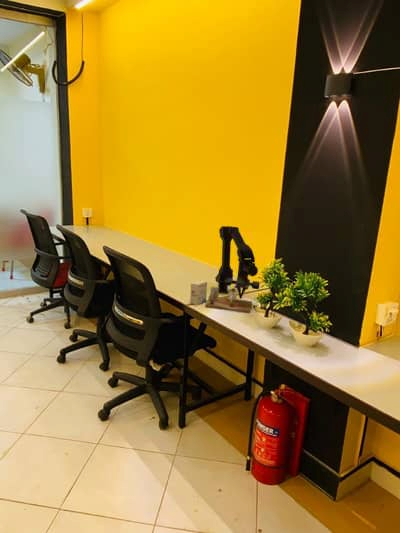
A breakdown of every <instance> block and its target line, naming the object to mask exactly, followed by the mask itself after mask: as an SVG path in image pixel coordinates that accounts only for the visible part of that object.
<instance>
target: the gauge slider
mask: <svg viewBox="0 0 400 533" xmlns="http://www.w3.org/2000/svg"><path fill="white" fill-rule="evenodd" d="M228 298H229V300H231V301H230V305H232V300H235V301H236V299H238V290H237V289H236V288H235V287H234V288H232V289H231V288H230V289H229V290H228Z"/></svg>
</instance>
